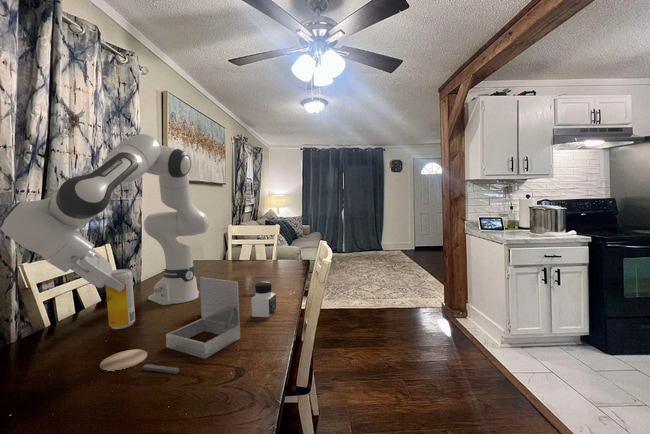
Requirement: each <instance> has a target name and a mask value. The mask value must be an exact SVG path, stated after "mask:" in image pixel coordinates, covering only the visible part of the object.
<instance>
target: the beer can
mask: <svg viewBox="0 0 650 434" xmlns="http://www.w3.org/2000/svg"><path fill="white" fill-rule="evenodd" d="M111 276H112V277H113V278H114V279H115V280H117V281H118V282H121V283H122V284H124V286H125V287H124V289H123V290H122V291H117V290H116V289H114V288H111V287H109V286H107V285H105V292H106V303H107V304H106V305H107V316H108V317H107V319H108V320H107V321H108V326H109V327H110V328H111V329H112V330H119V329H124V328H128V327H130V326H133V325H134V322H135V321H136V312H135V311H136V310H135V309H136V308H135V297H134V296H135V295H134V285H133V273H132V272H131V270H130V269H129V268H120V269H114V270H113V269H112V271H111Z"/></svg>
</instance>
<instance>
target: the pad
mask: <svg viewBox="0 0 650 434" xmlns="http://www.w3.org/2000/svg"><path fill="white" fill-rule="evenodd" d="M147 358H148V352H147V351H146V350H144V349H138V348H136V349H128V350H124V351H123V350H122V351H120V352H117V353H114V354H112V355H110V356H107V357H106V358H104V359H103V360H102V361H101V362H100V364H99V369H100V368H101V369H103V370H107V371H106V372H108V371H112V372H116V371H115V370H120V371H123V370H122V369H124V370H126V368H128V369H131V368H133V367H135V366H137V365H139V364H141V363H143V361H145V360H146V359H147ZM130 367H131V368H130ZM101 369H100V370H101ZM103 370H102V371H103Z"/></svg>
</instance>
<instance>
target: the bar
mask: <svg viewBox="0 0 650 434" xmlns="http://www.w3.org/2000/svg"><path fill="white" fill-rule="evenodd" d="M142 370H143V371H152V372H159V373H167V374H175V375H176V374H177V373H179V372H180V368H179V367H173V366H167V365H166V366H165V365H156V364H149V363H148V364H147V363H146V364H143V366H142Z"/></svg>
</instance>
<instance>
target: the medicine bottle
mask: <svg viewBox="0 0 650 434" xmlns="http://www.w3.org/2000/svg"><path fill="white" fill-rule="evenodd" d="M254 287H255V289H254V290H255V295H253V296H252V297H251V298H250V299H251V303H250V304H251V316H252V317H253V318H271V317H272V316H273V314H275V312H277V297H276V295H277V294H276V293H275V292H273V291H272V289H273V287H272V283H271V282H270V281H260V282H257V283H255V285H254Z"/></svg>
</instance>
